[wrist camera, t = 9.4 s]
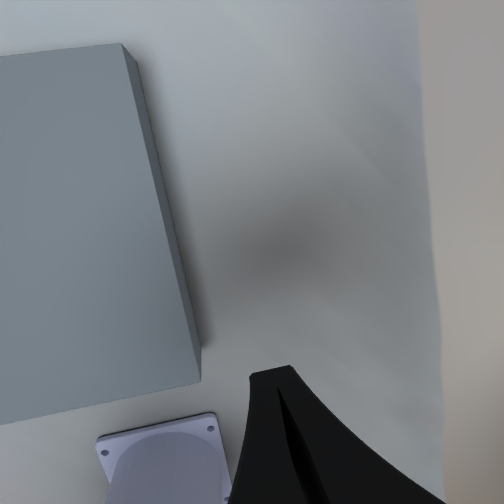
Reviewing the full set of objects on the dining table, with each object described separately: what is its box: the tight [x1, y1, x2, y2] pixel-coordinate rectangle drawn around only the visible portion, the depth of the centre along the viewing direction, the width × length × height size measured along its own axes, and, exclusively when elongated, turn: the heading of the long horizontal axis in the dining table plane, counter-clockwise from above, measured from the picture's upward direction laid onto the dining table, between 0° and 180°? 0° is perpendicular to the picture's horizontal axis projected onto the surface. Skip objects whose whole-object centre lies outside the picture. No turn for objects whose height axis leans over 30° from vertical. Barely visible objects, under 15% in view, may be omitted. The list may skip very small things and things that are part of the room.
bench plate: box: [0, 43, 201, 425], centre depth 16 cm, size 16×14×3 cm
